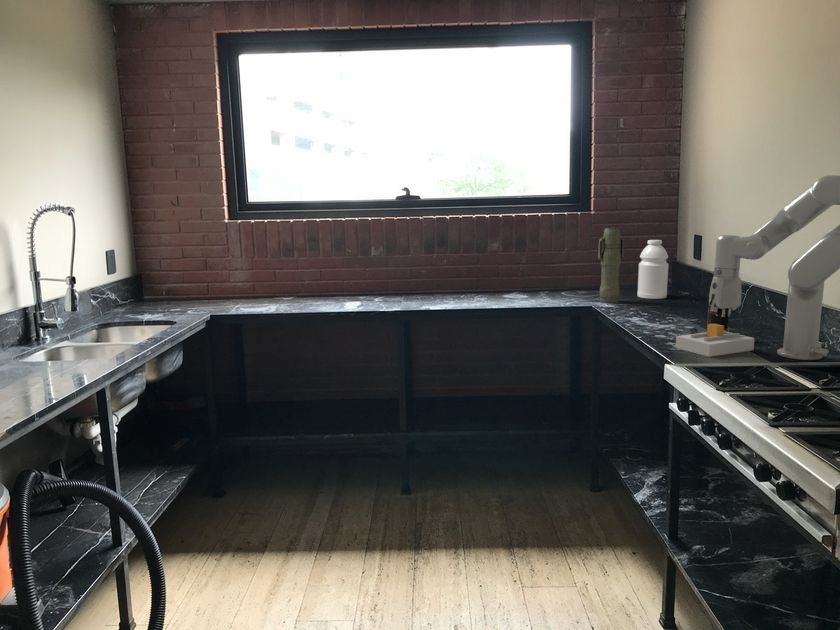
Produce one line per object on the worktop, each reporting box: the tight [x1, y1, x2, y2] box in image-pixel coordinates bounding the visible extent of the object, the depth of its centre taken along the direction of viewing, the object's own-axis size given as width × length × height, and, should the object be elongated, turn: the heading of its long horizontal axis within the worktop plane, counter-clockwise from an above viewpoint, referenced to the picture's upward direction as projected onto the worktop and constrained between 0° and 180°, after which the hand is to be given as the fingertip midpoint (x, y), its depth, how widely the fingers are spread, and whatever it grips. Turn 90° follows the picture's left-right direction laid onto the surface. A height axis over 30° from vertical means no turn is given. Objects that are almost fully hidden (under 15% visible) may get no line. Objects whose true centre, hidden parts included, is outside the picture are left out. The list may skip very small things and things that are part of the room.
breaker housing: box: [675, 330, 755, 358], centre depth 224 cm, size 14×20×5 cm
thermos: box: [597, 226, 625, 304], centre depth 319 cm, size 9×12×35 cm
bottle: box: [636, 239, 669, 300], centre depth 332 cm, size 14×14×28 cm
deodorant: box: [706, 304, 726, 331], centre depth 242 cm, size 6×6×15 cm
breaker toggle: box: [706, 324, 724, 337], centre depth 223 cm, size 4×3×4 cm
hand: (722, 327), depth 225 cm, fingers closed
